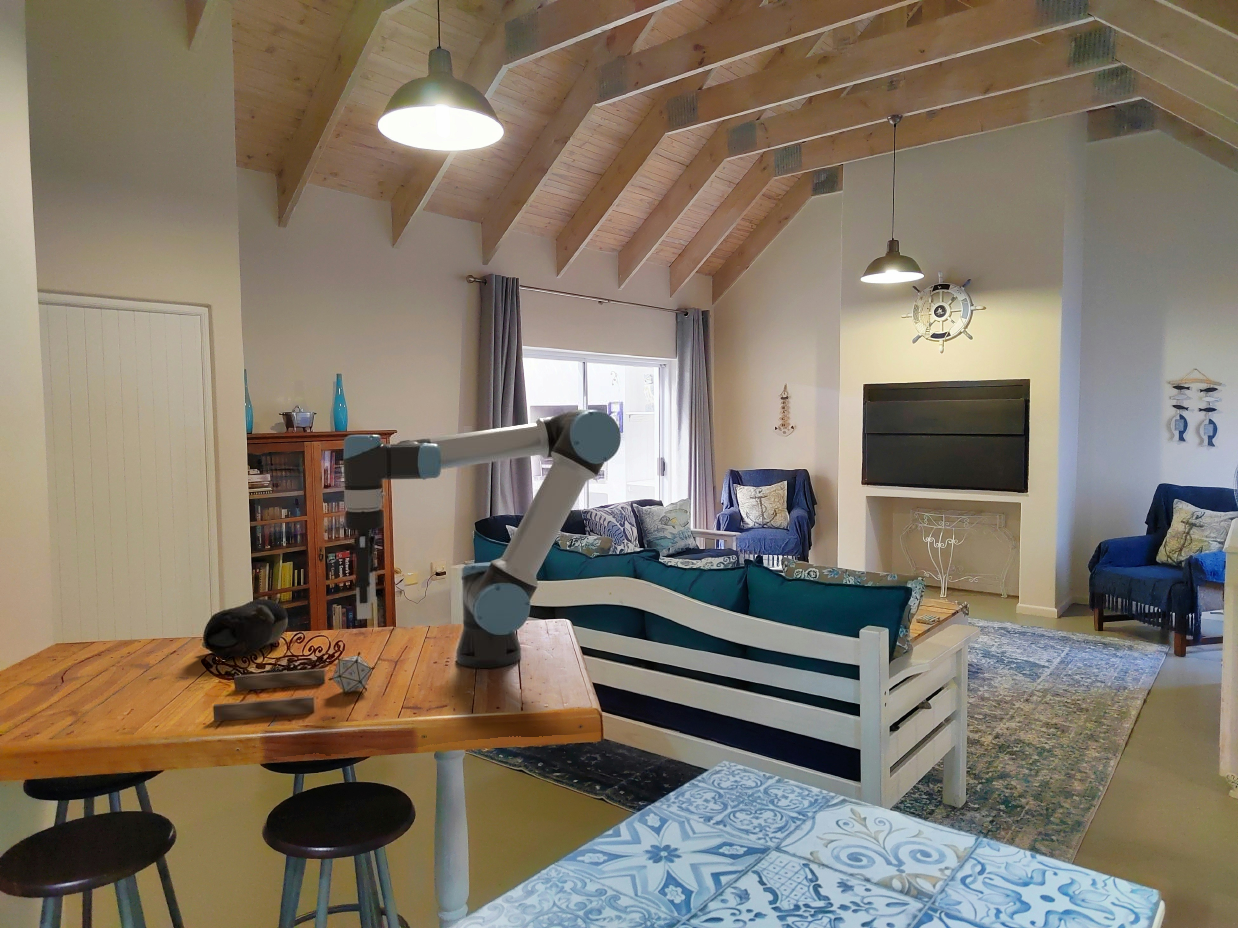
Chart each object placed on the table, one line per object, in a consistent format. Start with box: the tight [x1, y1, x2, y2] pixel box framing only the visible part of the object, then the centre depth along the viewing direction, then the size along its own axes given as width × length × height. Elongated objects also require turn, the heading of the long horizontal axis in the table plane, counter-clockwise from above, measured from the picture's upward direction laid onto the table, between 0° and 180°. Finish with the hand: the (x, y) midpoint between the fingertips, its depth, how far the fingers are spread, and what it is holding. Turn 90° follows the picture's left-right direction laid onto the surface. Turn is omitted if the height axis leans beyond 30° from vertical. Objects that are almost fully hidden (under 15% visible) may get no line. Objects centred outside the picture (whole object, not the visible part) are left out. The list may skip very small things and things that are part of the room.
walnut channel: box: [212, 668, 326, 723], centre depth 162 cm, size 18×18×3 cm
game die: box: [327, 651, 376, 697], centre depth 167 cm, size 9×8×10 cm
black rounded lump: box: [201, 598, 289, 661], centre depth 197 cm, size 20×21×13 cm
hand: (366, 610), depth 166 cm, fingers open, 13 cm apart
